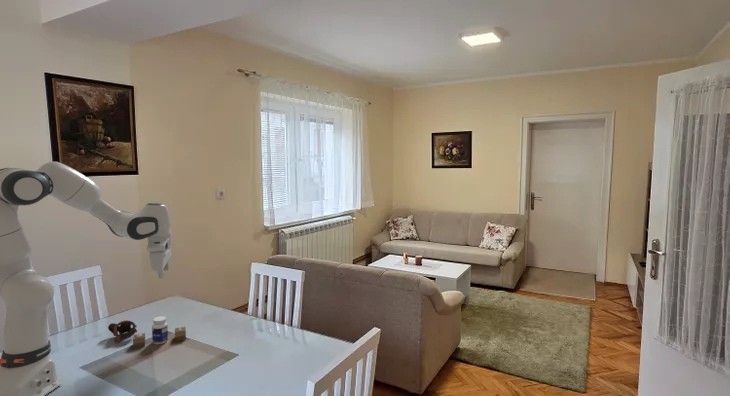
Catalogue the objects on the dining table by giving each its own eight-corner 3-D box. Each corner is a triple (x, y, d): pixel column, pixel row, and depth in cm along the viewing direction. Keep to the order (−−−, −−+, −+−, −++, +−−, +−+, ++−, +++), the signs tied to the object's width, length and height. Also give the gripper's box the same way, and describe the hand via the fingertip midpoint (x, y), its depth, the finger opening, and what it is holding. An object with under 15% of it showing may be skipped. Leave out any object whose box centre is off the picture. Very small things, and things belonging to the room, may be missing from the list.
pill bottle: (149, 343, 163) (148, 320, 162) (160, 337, 168) (159, 314, 167) (160, 345, 161) (159, 322, 160) (171, 339, 167) (170, 316, 166)
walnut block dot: (144, 346, 160) (144, 336, 160) (133, 348, 159) (132, 338, 158) (145, 342, 164) (145, 332, 163) (134, 344, 162) (133, 334, 162)
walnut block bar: (185, 339, 167) (185, 329, 167) (175, 341, 166) (175, 331, 165) (185, 335, 171) (185, 326, 170) (175, 337, 169) (174, 327, 169)
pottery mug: (142, 332, 173) (141, 320, 169) (129, 351, 165) (128, 339, 161) (114, 325, 173) (113, 313, 168) (100, 344, 165) (98, 331, 160)
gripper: (157, 236, 172) (160, 266, 175) (145, 249, 153) (149, 283, 155) (173, 234, 174) (176, 265, 176) (163, 247, 155) (167, 281, 157)
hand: (163, 273), depth 166 cm, fingers open, 8 cm apart
